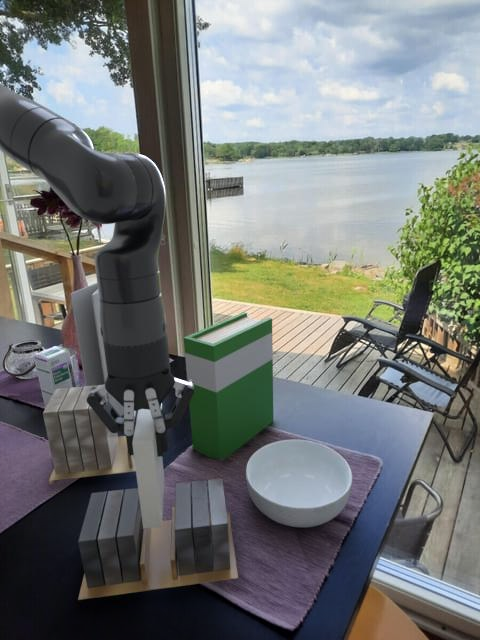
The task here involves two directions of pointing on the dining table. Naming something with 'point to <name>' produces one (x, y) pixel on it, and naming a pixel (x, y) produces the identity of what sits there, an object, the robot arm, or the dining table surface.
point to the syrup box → (54, 371)
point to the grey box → (91, 337)
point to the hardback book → (230, 383)
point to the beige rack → (82, 438)
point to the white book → (148, 470)
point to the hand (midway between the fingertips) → (148, 453)
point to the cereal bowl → (298, 482)
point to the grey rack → (156, 542)
